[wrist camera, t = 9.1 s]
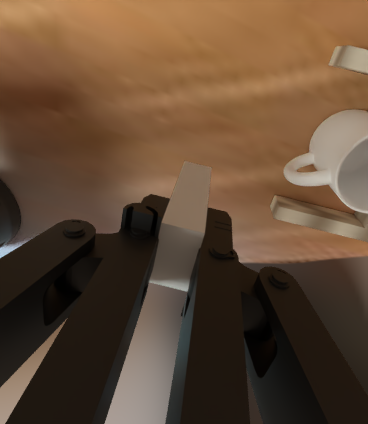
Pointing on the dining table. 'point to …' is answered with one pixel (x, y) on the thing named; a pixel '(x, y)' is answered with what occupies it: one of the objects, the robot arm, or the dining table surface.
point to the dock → (317, 215)
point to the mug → (337, 158)
